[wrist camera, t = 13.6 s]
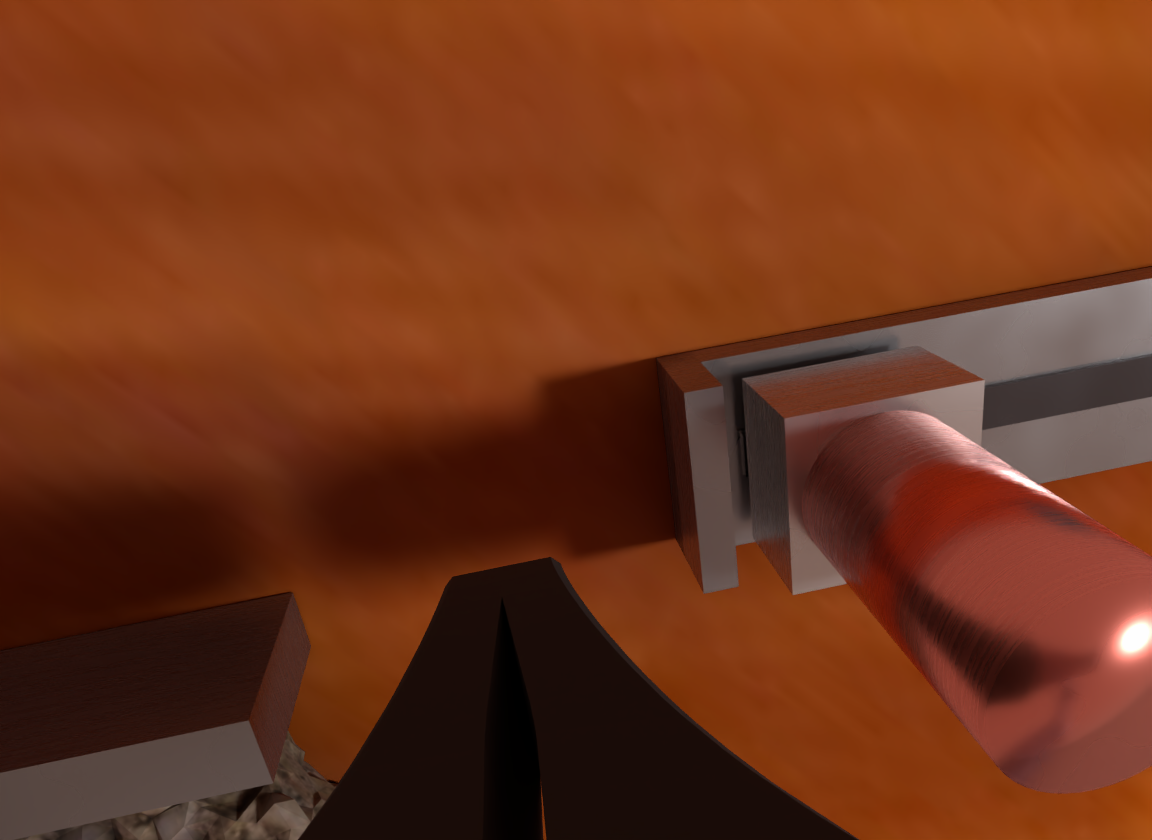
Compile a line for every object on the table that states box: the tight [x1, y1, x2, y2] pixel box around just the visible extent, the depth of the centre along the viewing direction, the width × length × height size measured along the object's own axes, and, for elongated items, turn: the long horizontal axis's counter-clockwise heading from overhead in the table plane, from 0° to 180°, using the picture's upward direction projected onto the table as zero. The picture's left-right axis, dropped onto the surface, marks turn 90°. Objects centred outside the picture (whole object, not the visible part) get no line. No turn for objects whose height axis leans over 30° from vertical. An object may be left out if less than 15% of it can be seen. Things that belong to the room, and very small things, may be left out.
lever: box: [742, 346, 1152, 793], centre depth 11 cm, size 3×3×6 cm
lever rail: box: [656, 267, 1152, 593], centre depth 14 cm, size 4×14×2 cm, turn 98°
